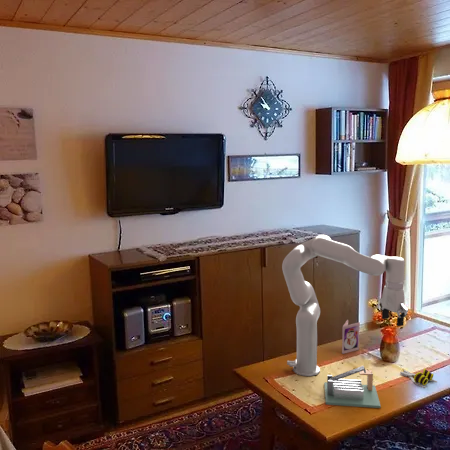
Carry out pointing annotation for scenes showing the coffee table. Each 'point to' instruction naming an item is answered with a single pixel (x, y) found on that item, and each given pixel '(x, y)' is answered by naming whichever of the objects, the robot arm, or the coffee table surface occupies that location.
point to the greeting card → (350, 337)
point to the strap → (348, 373)
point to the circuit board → (368, 399)
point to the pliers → (412, 378)
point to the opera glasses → (423, 377)
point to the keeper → (368, 378)
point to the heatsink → (345, 388)
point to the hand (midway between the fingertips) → (392, 322)
